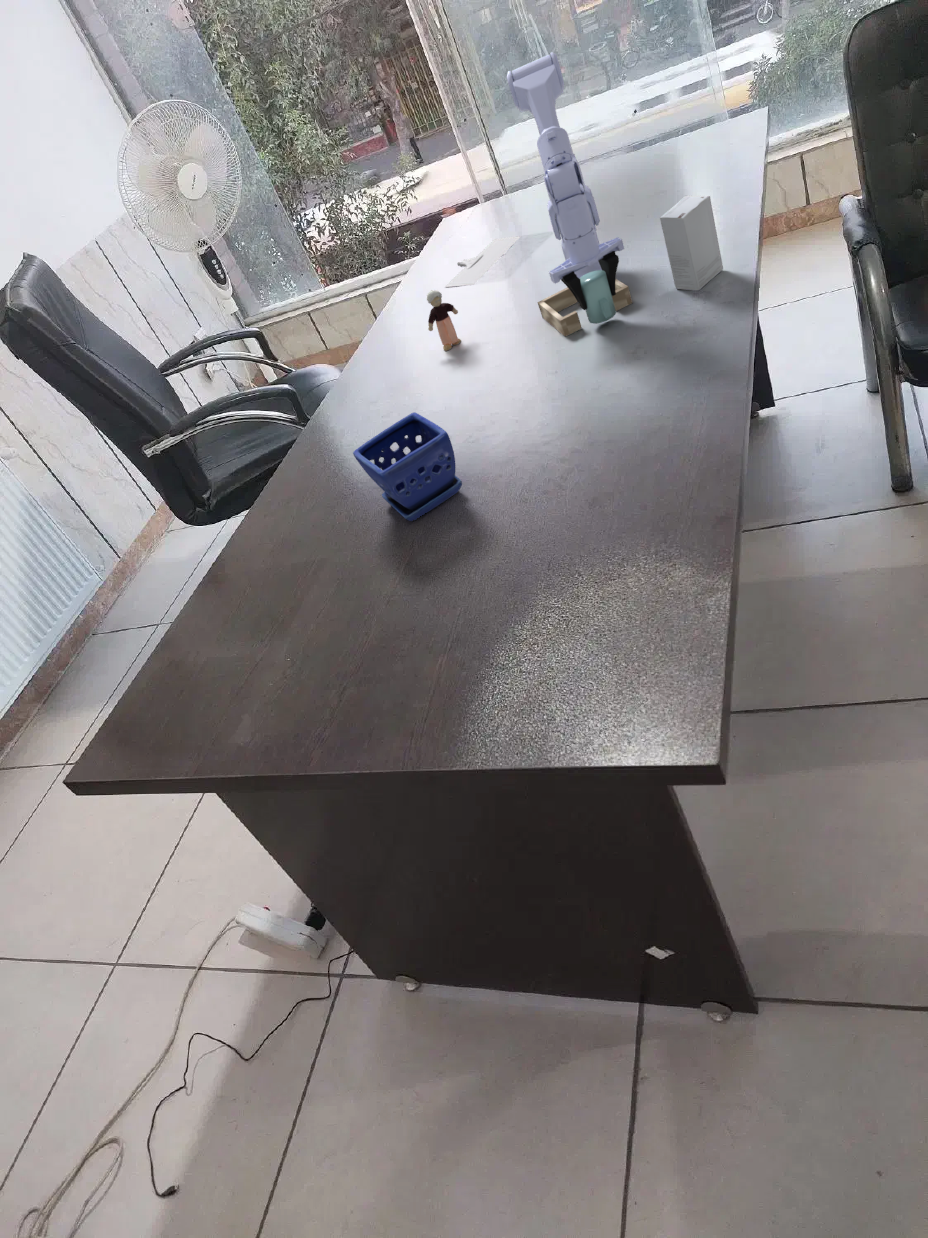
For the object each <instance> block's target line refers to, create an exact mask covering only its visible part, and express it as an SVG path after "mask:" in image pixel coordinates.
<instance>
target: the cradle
mask: <svg viewBox="0 0 928 1238" xmlns="http://www.w3.org/2000/svg"><path fill="white" fill-rule="evenodd" d="M615 291H616V295H614V296H612V298H613V302H614V305H615V309H616V312H617V311H620V310H621V309H624V308H625V307H627V306H629V305H632V304H633V300H632V296H631V292H630V291H631V290H630V288H629V285H626V284H625V283H623V282H621V280H618V279H617V278H616V280H615ZM577 303H578V301H577V300H576V298H575V296H574V295H573V293H572V292H571V291H570V290H569V288H568V287H567V286H566V287H565V288H563V289H561V290H559V291H558V292H555V293H554V294H551V295H548V296H547V297H545V298H544V299H542V300H540V301H538V302H537V305H538V309H539V312H540V314H541V317H542V319H543V320H544V321H545V322H547V323H549V324H550V326H552V327H553V328H554V329H555V330H557V332H559V333H560V334H561V335H562V336H564V337H565V338H566V337H568V336H569V335H572V334H574V333H576V332H577V331H580V330H582V329H583V327H582V324H581V321H580V320H581V319H580V316H579V315H578V314H579V313H578V312H577V311H576V310H574V311H572V312H570V313H567V314H566V315H564V316H563V315H561V314H560V313H558V312H562V311H563V310H565V309H567V308H569V307H571V306H573V305H574V304H577Z"/></svg>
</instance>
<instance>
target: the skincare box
mask: <svg viewBox="0 0 928 1238" xmlns="http://www.w3.org/2000/svg"><path fill="white" fill-rule="evenodd" d="M714 216H715V215H714V211H713V205H712V200H711V195H685V196H684V197H682V198H681V199H680V200H679V201H677V203H675V204H674V205H673V206H672V207H671V208H669V209H668V210H667V211H666V212H665V213H663V214H662V215H661V216H660V217H659V220H660V225H661V229H662V234H663V238H664V243H665V247H666V251H667V256H668V261H669V265H670V269H671V274H672V275H671V276H672V280H673V283H674V288H675V289H677V290H685V291H686V290H687V291H693V292H695V291H696V292H699V291H700V290H701V289H702V288H703V287H704V286H706V285H707V284H708V283H709V282H710V281H711V280H712V279H713V278H715V277H716V276H717V275H718V274H719V273H721V272H722V270H724V264H723V259H722V254H721V250H720V249H721V248H720V244H719V238H718V233H717V227H716V222H715V221H716V220H715V217H714Z"/></svg>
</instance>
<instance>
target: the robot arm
mask: <svg viewBox="0 0 928 1238" xmlns="http://www.w3.org/2000/svg"><path fill="white" fill-rule="evenodd" d="M506 81H507V84H508V88H509V91H510V95H511V97H512V100H513V103H514V104H513V105H514V106H515V107H516V109H517V110H518V111H519V112H521V113H523V112H529V113H530V114H531V115H532V116H533V118H534V121H535V123H536V125H537V129H538V133H539V137H538V139H537V142H536V146H537V150H538V154H539V158H540V161H541V165H542V168H543V172H544V175H543V182H544V185H545V189H546V192H547V194H548V195H547V196H548V198H549V200H548V201H547V205H546V206H547V211H548V216H549V220H550V224H551V227H552V230H553V234H554V237H555V239H557V240H559V241H560V240H561V243H560V244H561V245H560V246H561V248H562V249H561V250H562V253H563V256H564V259H565V261H563V262H562V263H561V264H559V265H558V266H556V267H554V268H553V269H551V270H549V271H548V274H549V277H550V281H551V282H552V283H553V284H555V285H556V284H558V283H559V282H560V281H561V283H563V284H564V285H565V286H566V288H567V287H568V288H569V290H570V291H571V292H572V293H573V295H574V296H575V298H576V300H577V301H578V302H577V303H578V305H579V307H580V309H581V310H583V311H586V309H587V304H586V301H585V299H584V296H583V292H582V287H581V281H580V279H579V278H581V277H582V276H583V275H585V274H587V273H589V272H592V271H597V270H603V271H605V272H606V276H607V280H608V283H609V287H610V291H611V294H612V296H614V295H616V291H615V280H616V279H617V277H616V276H617V270H618V266H619V262H620V260H619V259H620V258H619V255H617V254H616V253H617V252H621V251H623V250H625V246H624V241H623V239H622V238H620V237H618V236H617V237H615V238H613V239H610V240H607V241H605V242H602V243H600V240H599V237H598V233H597V227H596V226H599V224H600V222H601V220H600V215H599V212H598V207H597V204H596V201H595V197H594V196H593V192H592V189H591V188H590V187H589V186H588V185H586V183H585V181H584V177H583V173H582V170H581V165H580V163H579V160H577V157H576V154H575V153H574V152H573V148H572V144H571V141H570V137H569V134H568V132H567V130H566V129H565V128H563V127H561V126H560V122H559V119H558V116H557V110H556V103H557V102H556V101H557V99H559V98H560V97H561V96H562V95H563V94H564V90H565V81H564V77H563V74H562V69H561V65H560V61H559V58H558V54H557V53H555V52H553V51H551V52H549V54H547V55H546V54H545V55H544V56H541V57H540V58H538V59H535V60H533V61H530V62H528V63H526V64H524V65H522V66H521V65H520V66H519V67H517V68H515V69H513V70H508V71H507V75H506Z"/></svg>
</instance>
